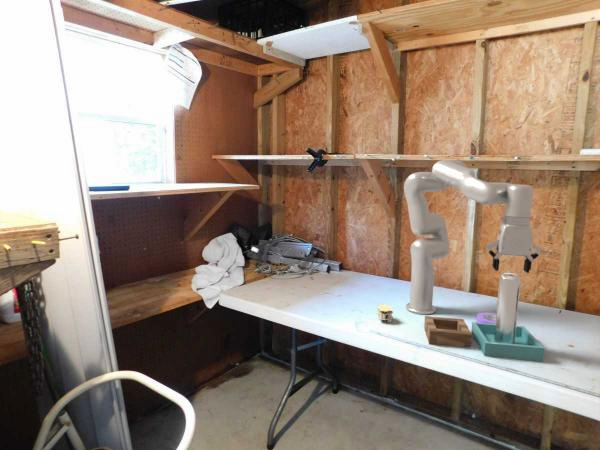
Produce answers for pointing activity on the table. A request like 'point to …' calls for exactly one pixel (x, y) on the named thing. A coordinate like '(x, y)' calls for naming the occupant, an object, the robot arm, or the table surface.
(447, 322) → the socket block
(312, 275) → the table surface
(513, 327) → the silver tall rounded column
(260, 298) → the table surface
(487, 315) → the masking tape
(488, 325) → the tray
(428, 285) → the robot arm
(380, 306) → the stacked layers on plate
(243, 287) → the table surface
